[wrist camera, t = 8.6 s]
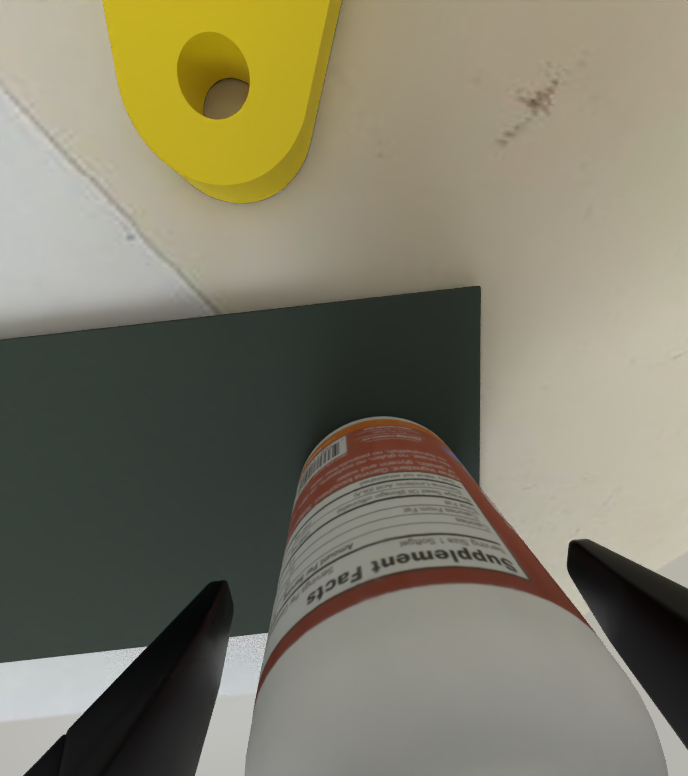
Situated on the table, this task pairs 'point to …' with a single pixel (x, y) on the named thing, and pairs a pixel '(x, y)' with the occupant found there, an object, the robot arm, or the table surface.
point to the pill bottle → (429, 633)
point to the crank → (218, 61)
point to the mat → (198, 453)
